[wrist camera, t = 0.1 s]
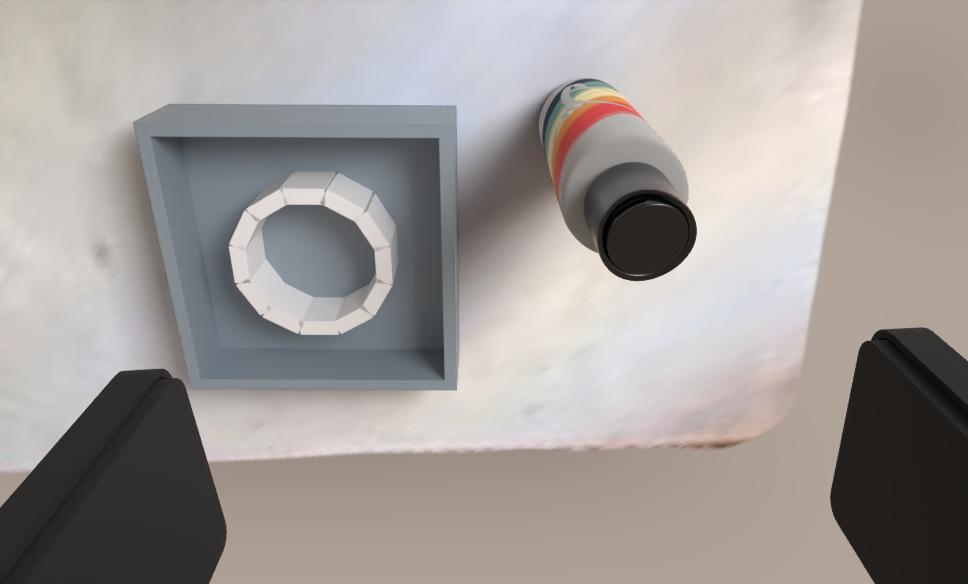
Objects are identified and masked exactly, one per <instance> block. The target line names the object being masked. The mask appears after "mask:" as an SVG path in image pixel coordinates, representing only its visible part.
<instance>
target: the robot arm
mask: <svg viewBox="0 0 968 584" xmlns="http://www.w3.org/2000/svg"><path fill="white" fill-rule="evenodd" d="M830 500H831V507H832V512H833V515H834V518H835V520H836V521H837V523H838V525H839V526H840V528H841V530H842V531H843V533H844V535H845V536H846V538H847V539H848V541H849V543H850V544H851V546H852V547H853V549H854V550H855V552H856V554H857V556H858V557H859V559H860V560H861V562H862V564H863V565H864V567H865V568H866V570H867V572H868V573H869V575H870V577H871V578H872V580H873V582H874V583H875V584H968V361H967V360H966V359H964V358H963V357H962V356H961V355H960V354H959V353H957V352H956V351H955V350H954V349H953V348H951V347H950V346H949V345H948V344H947V343H946V342H944V341H943V340H942V339H941V338H940V337H939V336H937V335H936V334H935V333H934V332H933V331H931V330H929V329H927V328H903V329H886V330H885V329H884V330H879V331H877V332H876V333H875V334H874V336H873V337H872V339H871V341H866V342H864V343H863V344H862V345H861V347H860V349H859V353H858V358H857V363H856V368H855V373H854V378H853V383H852V388H851V393H850V398H849V403H848V408H847V413H846V418H845V423H844V428H843V433H842V438H841V444H840V448H839V454H838V459H837V463H836V468H835V473H834V479H833V483H832V488H831V496H830ZM226 533H227V532H226V523H225V519H224V515H223V512H222V509H221V505H220V502H219V498H218V495H217V492H216V488H215V485H214V482H213V478H212V475H211V472H210V468H209V465H208V462H207V458H206V455H205V451H204V448H203V445H202V441H201V438H200V435H199V431H198V428H197V425H196V421H195V418H194V415H193V411H192V408H191V404H190V401H189V398H188V394H187V391H186V388H185V385H184V383H183V382H182V381H181V380H180V379H178V378H172V376H171V375H170V373H169V372H168V371H167V370H165V369H149V370H131V371H121V372H119V373H118V374H117V375H115V377H114V378H113V379H112V380H111V381H110V382H109V383H108V385H107V386H106V387H105V388H104V389H103V390H102V391H101V393H100V394H99V395H98V396H97V397H96V398H95V399H94V401H93V402H92V403H91V404H90V405H89V406H88V408H87V409H86V410H85V411H84V412H83V413H82V414H81V416H80V417H79V418H78V419H77V420H76V421H75V422H74V424H73V425H72V426H71V427H70V428H69V429H68V431H67V432H66V433H65V434H64V435H63V436H62V437H61V439H60V440H59V441H58V442H57V443H56V444H55V445H54V447H53V448H52V449H51V450H50V451H49V452H48V454H47V455H46V456H45V457H44V458H43V459H42V460H41V462H40V463H39V464H38V465H37V466H36V467H35V468H34V470H33V471H32V472H31V473H30V474H29V475H28V477H27V478H26V479H25V480H24V481H23V482H22V484H21V485H20V486H19V487H18V488H17V489H16V490H15V492H14V493H13V494H12V495H11V496H10V497H9V498H8V500H7V501H6V502H5V503H4V504H3V505H2V506H1V508H0V584H209V582H210V580H211V578H212V575H213V573H214V571H215V568H216V566H217V564H218V562H219V559H220V557H221V555H222V552H223V550H224V547H225V542H226Z"/></svg>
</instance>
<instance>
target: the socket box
mask: <svg viewBox="0 0 968 584" xmlns="http://www.w3.org/2000/svg"><path fill="white" fill-rule="evenodd" d="M133 124H134V128H135V133H136V138H137V142H138V147H139V151H140V156H141V161H142V165H143V170H144V175H145V179H146V184H147V188H148V193H149V198H150V202H151V207H152V212H153V216H154V221H155V225H156V230H157V235H158V239H159V244H160V249H161V253H162V258H163V263H164V267H165V272H166V276H167V281H168V286H169V290H170V295H171V300H172V304H173V309H174V313H175V318H176V323H177V327H178V332H179V337H180V341H181V346H182V350H183V355H184V360H185V364H186V369H187V374H188V378H189V383H190V387H191V389H273V390H457V378H458V362H459V300H458V215H457V129H456V106H400V105H228V104H168V105H166V106H164V107H162V108H160V109H158V110H156V111H154V112H152V113H150V114H148V115H146V116H144V117H143V118H141V119H139V120H137V121H135V122H133Z"/></svg>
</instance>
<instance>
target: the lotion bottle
mask: <svg viewBox="0 0 968 584" xmlns="http://www.w3.org/2000/svg"><path fill="white" fill-rule="evenodd" d="M539 134H540V139H541V143H542V147H543V150H544V154H545V157H546V161H547V164H548V168H549V171H550V175H551V178H552V181H553V185H554V188H555V192H556V195H557V199H558V202H559V205H560V209H561V212H562V215H563V218H564V220H565V222H566V225H567V227H568V228H569V230H570V231H571V233H572V234H573V235H574V237H575V238H576V239H577V240H578V241H579V242H580V243H581V244H583V245H584V246H585V247H587V248H589V249H590V250H592V251H594V252H597V253H599V255H600V258H601V259H602V261H603V263H604V264H605V266H606V267H607V268H608V269H609V270H610V271H611V272H612V273H613V274H615V275H616V276H618V277H620V278H622V279H626V280H630V281H645V280H650V279H654V278H657V277H660V276H662V275H664V274H666V273H668V272H670V271H671V270H673V269H674V268H676V267H677V266H678V265H679V264H681V263H682V262H683V261H684V260H685V258H686V257H687V256H688V255H689V253H690V252H691V250H692V248H693V246H694V243H695V240H696V235H697V227H696V221H695V218H694V216H693V214H692V212H691V210H690V209H689V207H688V206H687V202H688V194H689V190H688V181H687V176H686V173H685V170H684V168H683V166H682V164H681V162H680V160H679V159H678V157H677V156H676V155H675V153H674V152H673V151H672V150H671V148H670V147H669V146H668V145H667V144H666V143H665V142H664V141H663V140H662V138H661V137H660V136H659V135H658V134H657V133H656V132H655V131H654V130H653V129H652V128H651V127H650V125H649V124H648V123H647V122H646V121H645V120H644V119H643V118H642V117H641V116H640V115H639V113H638V112H637V111H636V110H635V109H634V108H633V107H632V106H631V105H630V104H629V103H628V102H627V100H626V99H625V98H624V97H623V96H622V95H621V94H620V93H619V92H618V91H617V90H616V89H614V88H613V87H612V86H610V85H609V84H607V83H605V82H603V81H600V80H597V79H591V78H581V79H576V80H572V81H569V82H567V83H565V84H563V85H561V86H560V87H558V88H557V89H556V90H555V91H554V92H553V93H552V94H551V95H550V96H549V97H548V99H547V100H546V102H545V104H544V106H543V108H542V111H541V114H540V119H539Z"/></svg>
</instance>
